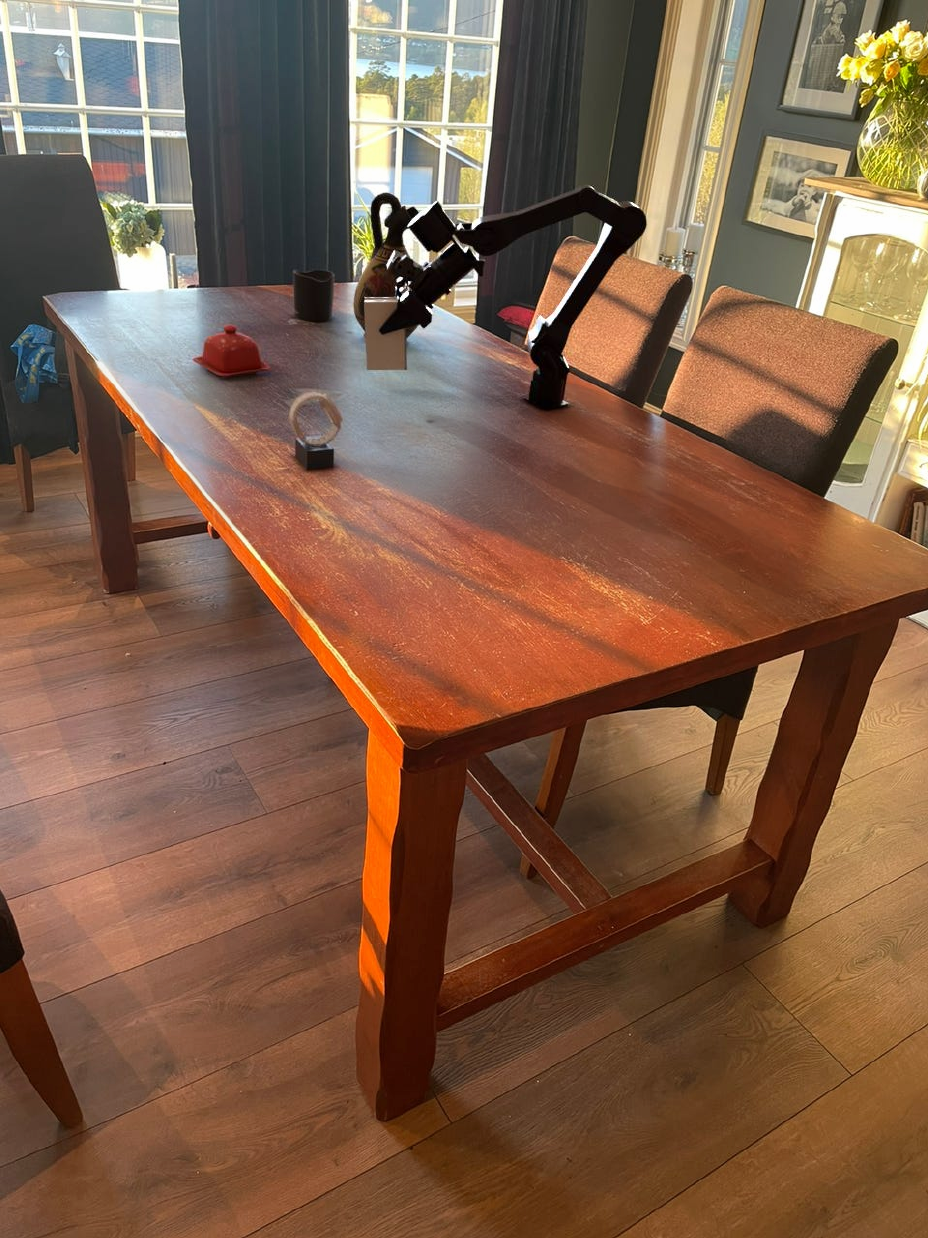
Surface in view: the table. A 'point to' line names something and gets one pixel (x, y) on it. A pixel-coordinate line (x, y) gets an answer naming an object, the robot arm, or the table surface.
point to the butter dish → (231, 354)
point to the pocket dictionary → (383, 336)
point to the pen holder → (313, 295)
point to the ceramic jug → (383, 255)
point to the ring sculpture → (315, 448)
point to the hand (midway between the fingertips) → (380, 329)
